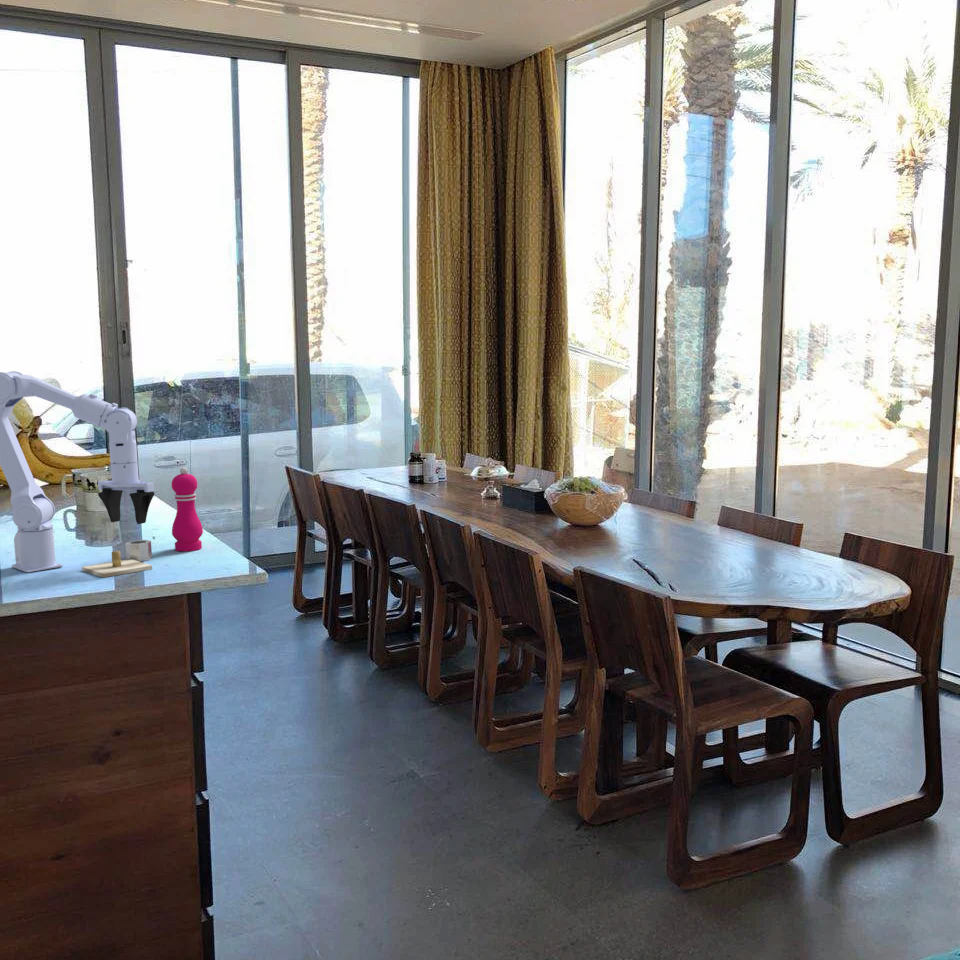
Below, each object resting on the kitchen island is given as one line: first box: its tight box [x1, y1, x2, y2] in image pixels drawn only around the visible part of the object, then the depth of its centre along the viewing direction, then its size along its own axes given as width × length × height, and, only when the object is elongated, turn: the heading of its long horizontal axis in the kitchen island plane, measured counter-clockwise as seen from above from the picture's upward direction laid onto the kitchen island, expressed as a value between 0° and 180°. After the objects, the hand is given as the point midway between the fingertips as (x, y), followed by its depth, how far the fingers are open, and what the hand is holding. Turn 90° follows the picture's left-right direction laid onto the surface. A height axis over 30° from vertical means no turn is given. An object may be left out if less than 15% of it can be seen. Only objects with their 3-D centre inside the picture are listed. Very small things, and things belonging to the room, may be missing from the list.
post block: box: [81, 550, 153, 578], centre depth 218 cm, size 11×11×4 cm
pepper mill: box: [171, 466, 204, 552], centre depth 238 cm, size 7×7×20 cm
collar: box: [124, 539, 153, 562], centre depth 229 cm, size 5×5×4 cm
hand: (128, 522), depth 223 cm, fingers open, 7 cm apart
